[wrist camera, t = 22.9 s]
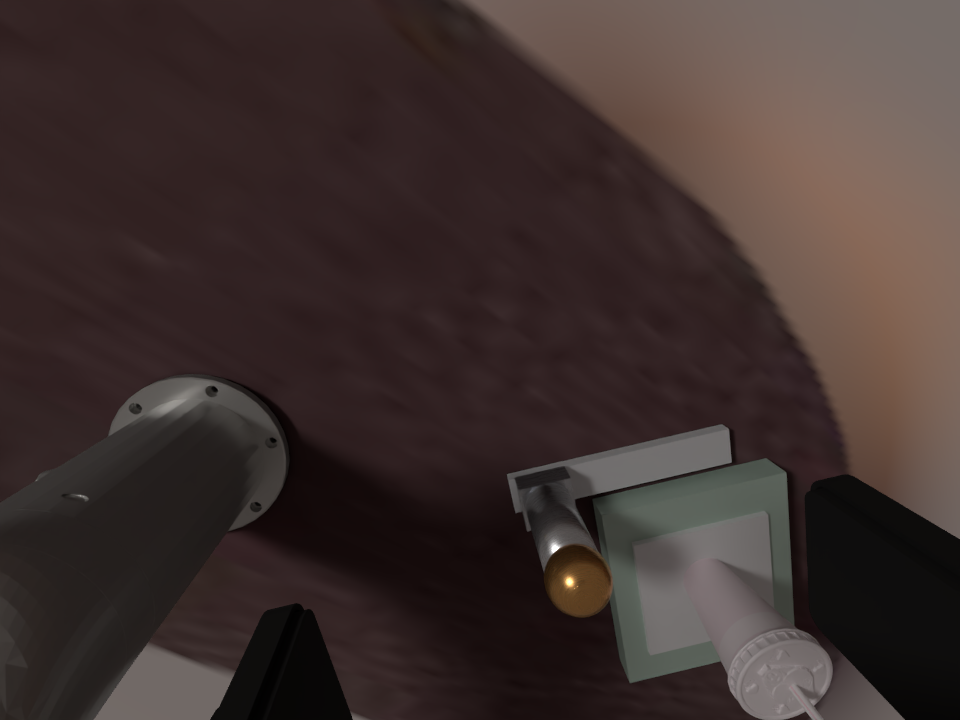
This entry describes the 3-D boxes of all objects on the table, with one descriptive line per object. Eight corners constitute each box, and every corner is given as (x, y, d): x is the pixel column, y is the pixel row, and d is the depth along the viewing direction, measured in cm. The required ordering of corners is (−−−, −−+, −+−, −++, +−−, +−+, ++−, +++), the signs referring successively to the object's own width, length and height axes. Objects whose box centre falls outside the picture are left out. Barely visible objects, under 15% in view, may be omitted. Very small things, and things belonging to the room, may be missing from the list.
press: (551, 675, 45) (558, 705, 42) (506, 474, 40) (511, 493, 37) (776, 621, 46) (799, 647, 43) (763, 414, 40) (788, 428, 37)
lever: (523, 519, 39) (558, 641, 28) (513, 475, 38) (545, 582, 26) (572, 507, 39) (627, 624, 28) (563, 463, 38) (617, 565, 27)
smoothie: (710, 621, 41) (842, 811, 28) (651, 590, 40) (759, 773, 26) (758, 564, 40) (920, 732, 27) (699, 530, 39) (837, 688, 25)
